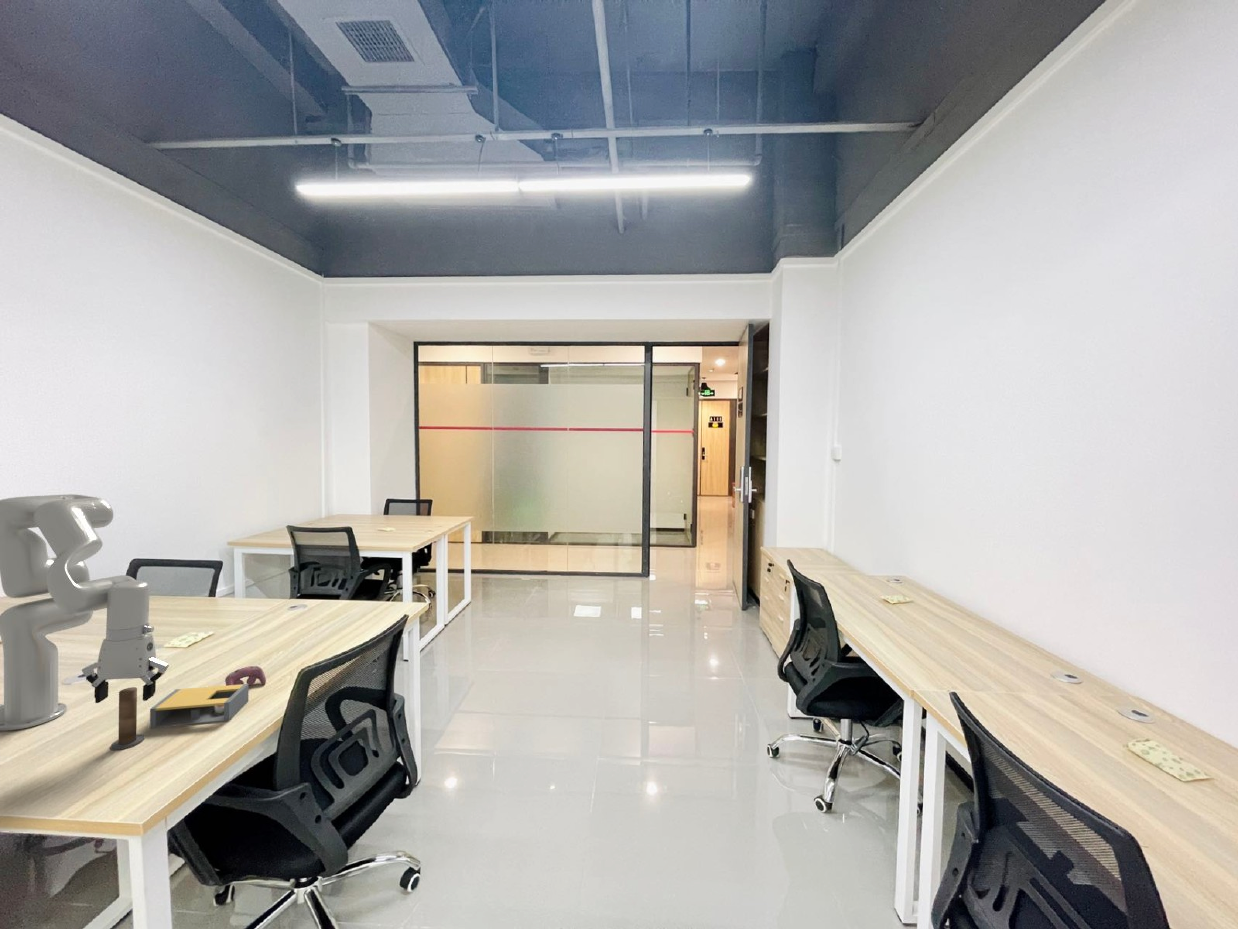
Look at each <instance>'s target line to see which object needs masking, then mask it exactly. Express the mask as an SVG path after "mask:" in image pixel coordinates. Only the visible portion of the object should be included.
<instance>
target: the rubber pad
mask: <svg viewBox="0 0 1238 929" xmlns="http://www.w3.org/2000/svg"><path fill="white" fill-rule="evenodd" d="M144 740H145V735H143V734H136V740H135V741H134V742H132V743H130V744H127V745H119V744H118V739H117V740H115V741H114V742H112V743H111V745H110V749H111V750H113V751H120V750H125V749H130V748H132V747H135V746H137V745H139V744H141V743H142V742H143V741H144Z"/></svg>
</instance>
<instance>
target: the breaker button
mask: <svg viewBox="0 0 1238 929" xmlns="http://www.w3.org/2000/svg"><path fill="white" fill-rule="evenodd" d="M223 712H224V705H217V706H215V713H223Z"/></svg>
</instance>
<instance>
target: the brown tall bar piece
mask: <svg viewBox="0 0 1238 929" xmlns="http://www.w3.org/2000/svg"><path fill="white" fill-rule="evenodd" d="M137 705H138V687H132V686H131V687H128V688H123V689H121V690H120V691H119V692H118V739H117V740H118V744H119V745H127V744H130V743H132V742H134V741H135V740H136V735H137V721H138V720H137V718H138V717H137V715H138V713H137V712H138V709H137V708H138V707H137Z"/></svg>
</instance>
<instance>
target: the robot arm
mask: <svg viewBox="0 0 1238 929" xmlns="http://www.w3.org/2000/svg"><path fill="white" fill-rule="evenodd" d="M113 519H114V509H113V508H112V506H111V505H110V504H109V503H108V502H107V501H106V500H105V499H103V498H101V497H97V496H88V495H82V494H74V493H73V494H71V493H70V494H51V495H32V496H31V495H30V496H29V495H27V496H18V497H17V496H15V497H9V498H3V499H0V582H1V587H2V591H3V593H4V595H5V596H6V597H8V598H10V599H23V598H25V599H26V598H30V597H35V596H41V595H47V594H49V595H50V598H44V599H38V600H33V601H28V602H24V603H20V604H17V605H14V606H11V607H8V608H7V609H5V610H4V611H3V612H1V614H0V640H1V643H2V653H3V704H0V731H1V732H2V731H6V732H7V731H17V730H22V729H27V728H31V727H35V726H38V725H41V724H44V723H47V722H50V721H52V720H55V719H56V718H58V717H59V718H60V717H61V716H62V715H63V714H65V713H66V711H67V708H68V707H67V705H66V703H63V702H59V649H58V647H57V645H56V644H55V643H54V642H52V641H51V640H49V639H48V638H47V637H46V636H47V635H51V634H54V633H56V632H60V631H66V630H70V629H72V628H76V627H80V626H82V625H85V624H86V623H89V621H90V620H91V619H92V618H93V615H94V612H95V611H100V610H105V609H106V626H105V627H106V628H105V630H106V632H105V638H104V639H103V640H102V643H101V645H100V649H99V653H98V658H97V661H96V662H93V663H91V664H89V665H87V666H85V667H83V668H82V669H81V671H82V674H83V675H84V677H85V679H86V681H87V682H89V683H90V685H91V687H92V688H94V694H93V695H94V696H93V697H94V699H95V700H94V702H95V704H99V703H101V702H102V701H105V699H107V698H108V697H109V684H110V683H109V682H108V681H107V680H128V679H129V680H130V679H131V680H133V679H140V680H142V681H143V683H145V684H143V686H142V701H144V702H146V701H148V700H149V699H150V698H153V696H154V695H155V694H156V685H157V684H156V683H157V681H158V679H160V678H162V676H163V675H165V673H166V671H167V670H168V668H169V667H170V666H169V665H170V664H169V663H167V662H165V661H162V660H160V659H157V651H156V650H157V649H156V643H155V640H154V636H153V633H154V631H155V627H154V626H150V622H149V620H150V619H149V618H150V617H149V615H150V613H149V612H150V590H151V589H150V588H151V587H150V585H149V583H148V582H147V581H144V580H143V581H142V580H136V579H135V578H133V577H132V576H130V575H116V576H110V577H105V578H97V579H92V580H91V579H90V573H89V568H88V566H87V564H86V563H85V561H86V560H88V559H89V558H91V557H93V556H94V555H96V554H97V553H98V552H99V551H101V549H102V547H103V541H102V539H101V538H100V535H99V534H98V533H97V531H96V529H101V528H105V527H107V526H109V525H110V524H111V522H113ZM33 528H38V529H39V530H40V532H41V534H42V535H43V538H44V539H45V540H44V539H43V538H42V536H40V535H39V534H38V533H37V532H35V531H33V530H31V529H33ZM46 542H47V543H48V545H49V547H50V548H51V550H52V551H53V553H54V554H55V557H49V556H48V552H47V551H48V549H47V543H46ZM156 668H157V672H154V670H155V669H156ZM95 669H96V672H95Z"/></svg>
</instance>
